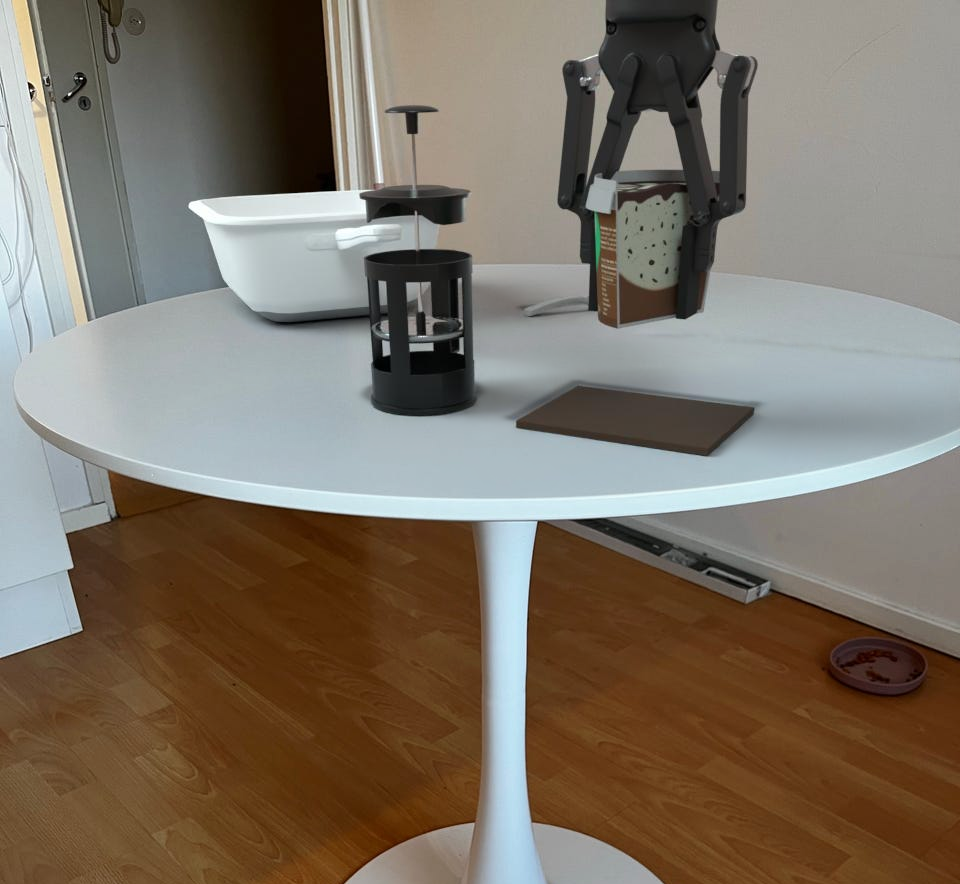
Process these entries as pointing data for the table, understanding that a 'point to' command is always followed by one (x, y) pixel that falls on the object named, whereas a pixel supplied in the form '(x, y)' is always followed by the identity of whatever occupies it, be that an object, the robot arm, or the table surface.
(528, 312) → the spoon
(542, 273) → the table surface
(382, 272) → the french press
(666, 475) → the table surface
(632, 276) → the food container
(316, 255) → the white dish tub
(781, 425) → the table surface
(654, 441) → the mat
